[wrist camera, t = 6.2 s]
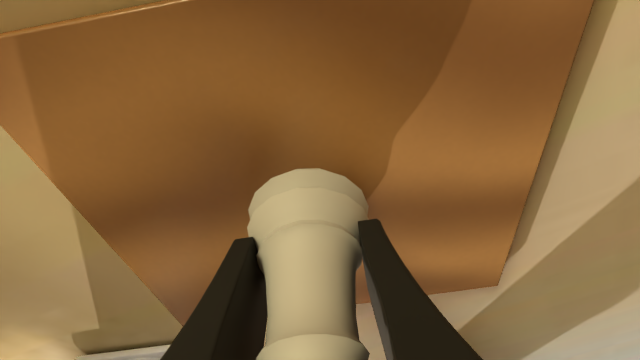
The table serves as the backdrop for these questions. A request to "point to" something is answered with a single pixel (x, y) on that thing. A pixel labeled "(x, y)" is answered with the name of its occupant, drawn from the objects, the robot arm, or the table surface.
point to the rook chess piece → (309, 264)
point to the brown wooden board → (294, 122)
